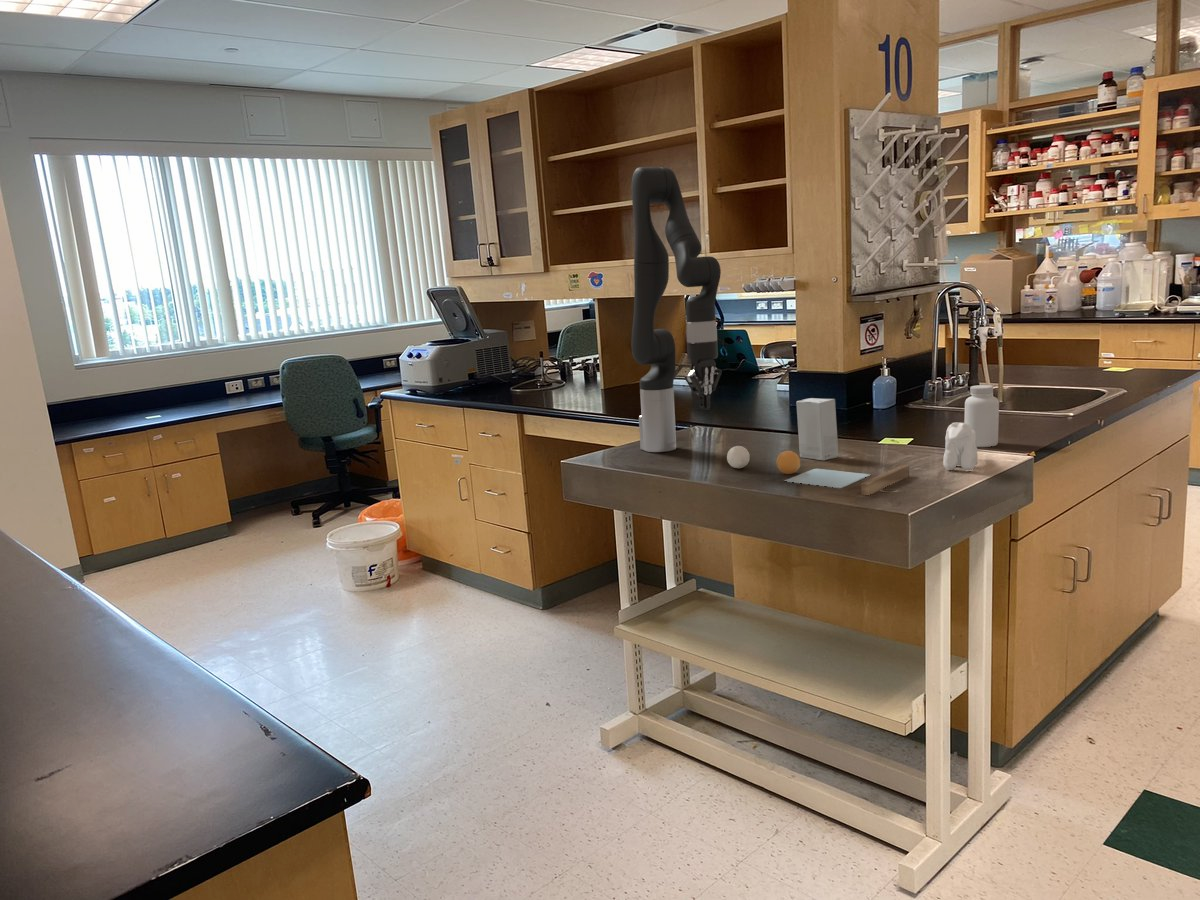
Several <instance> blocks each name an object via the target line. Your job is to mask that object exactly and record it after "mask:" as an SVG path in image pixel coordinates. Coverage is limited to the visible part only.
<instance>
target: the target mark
mask: <svg viewBox="0 0 1200 900" xmlns="http://www.w3.org/2000/svg"><path fill="white" fill-rule="evenodd" d="M871 475H872V474H869V473H860V472H859V473H858V472H853V471H852V472H851V471H841V470H835V469H834V470H833V469H823V468H813V469H810V470H807V471H805V472H802V473H800V474H798V475H795V476H792V477H790V478H787V479H784V481H787V482H786V483H792V482H794V484H800V483H802V485H808V484H810V485H811V486H816V485H819V486H818V487H824V486H827V487H826V488H832V487H833V489H834V488H835V489H844V488H846V487H847V486H850V485H852V484H854V483H856V482H858V481H861V480H863V479H865V477H866V478H867V477H870V476H871Z"/></svg>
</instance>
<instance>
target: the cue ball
mask: <svg viewBox="0 0 1200 900" xmlns="http://www.w3.org/2000/svg"><path fill="white" fill-rule="evenodd" d="M750 458H751V456H750V452H749V451H748V449H747V448H745V447H744V446H741V445H736V446H732V447H731V448H730V449H729V450H728V452H727V454H726V461H727V464H729V465H730V466H731V467H732V468H735V469H743V468H745V467H746V466H747V465H748V464H749V463H750Z"/></svg>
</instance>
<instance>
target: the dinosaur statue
mask: <svg viewBox="0 0 1200 900" xmlns="http://www.w3.org/2000/svg"><path fill="white" fill-rule="evenodd" d="M944 440H945V445H944V446H945V447H944V448H945V450H944V454H943V457H942V458H943V459H942V460H943V463H942V464H943V467H944V468H945V469H946V470H947V469H949V470H951V471H953V470H955V469H956V466H957V465H960V466H961V469H962V470H963V471H965V470H972V469H974V470H975V467H976V466H977V465H978V447H976V444H975V441H976V433H975V431H974V430H972V429H971V427H970V426H969V425H968V424H966V423H964V422H951V424H949V425H948V426H947V429H946V433H945V438H944ZM975 465H976V466H975ZM949 470H948V471H949Z"/></svg>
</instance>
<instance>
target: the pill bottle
mask: <svg viewBox="0 0 1200 900" xmlns="http://www.w3.org/2000/svg"><path fill="white" fill-rule="evenodd" d="M969 389H970V391H969V393H970V395H971V396H969V397H967V398H966V399H965V401H964V421H963V423H966V424H968V425H969V426H970V427H971V429H972V430H974V431H975V433H976V441H975V444H976V447H977V448H990V447H991V446H992V447H995V446H997V445H998V441H999V421H1000V420H999V419H1000V418H999V415H1000V400H999V399H998V397H995V396H993V395H994V386H993V385H989V384H981V385H980V384H979V385H972V386H970V388H969Z"/></svg>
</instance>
